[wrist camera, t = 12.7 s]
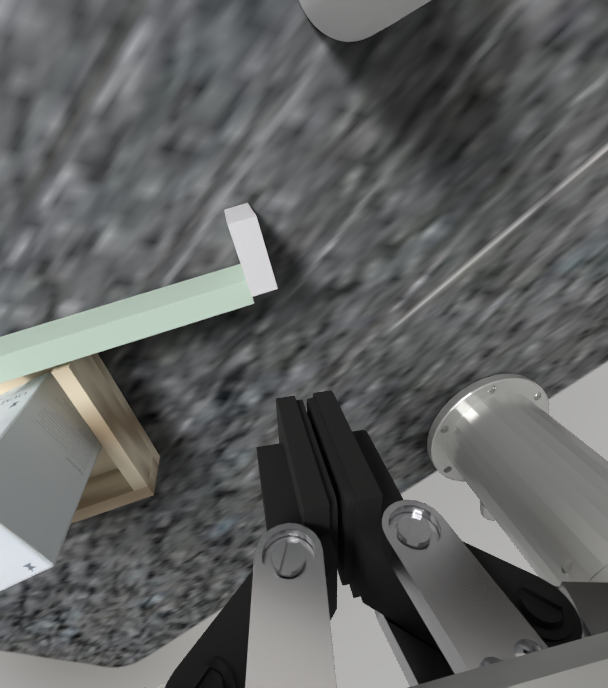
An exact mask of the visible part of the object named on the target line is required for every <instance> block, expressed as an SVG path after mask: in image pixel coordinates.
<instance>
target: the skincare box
mask: <svg viewBox="0 0 608 688" xmlns="http://www.w3.org/2000/svg"><path fill="white" fill-rule="evenodd" d="M101 448H102V444H101V443H100V442H99V440H98V439H97V437H96V436H95V434H94V433H93V432H92V430H91V429H90V427H89V426H88V424H87V423H86V421H85V420H84V419H83V417H82V416H81V414H80V413H79V411H78V410H77V409H76V407H75V406H74V404H73V403H72V401H71V400H70V399H69V397H68V396H67V394H66V393H65V391H64V390H63V389H62V387H61V386H60V384H59V383H58V381H57V380H56V379H55V377H54V376H53V374H52V373H51V372H48V373H45V374H43V375H41V376H39V377H37V378H35V379H33V380H31V381H28V382H26V383H24V384H22V385H20V386H18V387H16V388H14V389H12V390H10V391H7V392H5V393H3V394H1V395H0V591H2V590H4V589H6V588H8V587H10V586H13V585H15V584H17V583H19V582H21V581H23V580H25V579H27V578H30V577H32V576H34V575H36V574H38V573H40V572H42V571H45V570H47V569H49V568H51V567H53V566H54V565H55V563H56V561H57V558H58V556H59V553H60V551H61V548H62V545H63V543H64V540H65V538H66V535H67V532H68V530H69V527H70V525H71V522H72V520H73V517H74V514H75V512H76V509H77V507H78V504H79V501H80V499H81V496H82V494H83V491H84V489H85V486H86V484H87V481H88V479H89V476H90V474H91V472H92V469H93V467H94V464H95V462H96V460H97V458H98V455H99V453H100V450H101Z"/></svg>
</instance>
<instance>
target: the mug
mask: <svg viewBox="0 0 608 688" xmlns="http://www.w3.org/2000/svg"><path fill="white" fill-rule="evenodd" d="M430 1H431V0H299V2H300V5H301V7H302V9H303V10H304V12H305V14H306V15H307V17H308V18H309V20H310V21H311V22H312V23H313V25H314V26H315V27H316V28H317V29H319V30H320V31H321V32H322V33H324V34H325V35H327V36H329V37H331V38H333V39H335V40H339V41H344V42H355V41H360V40H363V39H366V38H368V37H370V36H372V35H374V34H376V33H377V32H379V31H381V30H383V29H385V28H387V27H388V26H390V25H392V24H394V23H395V22H397V21H398V20H400V19H402V18H403V17H405V16H406V15H408V14H410V13H411V12H413V11H415V10H416V9H418V8H420V7H421V6H423V5H425V4H426V3H428V2H430Z"/></svg>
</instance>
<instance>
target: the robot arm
mask: <svg viewBox="0 0 608 688" xmlns="http://www.w3.org/2000/svg"><path fill="white" fill-rule="evenodd" d="M276 408H277V420H278V432H279V444H274V445H268V446H262V447H257V456H258V465H259V473H260V481H261V489H262V497H263V505H264V512H265V520H266V528H267V532H266V533H265V534H264V535H263V536H262V537H261V539H260V540H259V542H258V544H257V546H256V550H255V554H254V566H253V571H252V572H251V573H250V575H249V576H248V577H247V578H246V580H245V581H244V582H243V584H242V585H241V586H240V587H239V589H238V590H237V591H236V593H235V594H234V595H233V596H232V598H231V599H230V600H229V601H228V603H227V604H226V605H225V607H224V608H223V609H222V610H221V612H220V613H219V614H218V616H217V617H216V618H215V619H214V621H213V622H212V623H211V625H210V626H209V627H208V628H207V630H206V631H205V632H204V633H203V635H202V636H201V638H200V639H199V640H198V641H197V642H196V644H195V645H194V646H193V648H192V649H191V650H190V651H189V653H188V654H187V655H186V657H185V658H184V659H183V660H182V662H181V663H180V664H179V666H178V667H177V668H176V669H175V671H174V672H173V674H172V676H171V677H170V679H169V680H168V681H167V682H165V683H164V684H162V685H160V686H158V687H156V688H337V684H336V675H335V665H334V655H333V647H332V646H333V645H332V635H331V626H330V620H331V618H332V617H333V615H334V613H335V611H336V609H337V569H338V573H339V576H340V580H341V582H342V585H347V584H350V588H351V591H352V594H353V597H354V598H356V597H359V596H361V598H362V601H363V603H365V604H367V605H368V606H370V607H371V608H373V609H374V610H375V614H376V617H377V619H378V622H379V624H380V626H381V628H382V630H383V632H384V634H385V636H386V638H387V640H388V642H389V644H390V646H391V648H392V650H393V653H394V655H395V656H396V659H397V661H398V663H399V664H400V667H401V669H402V671H403V673H404V675H405V677H406V679H407V681H408V683H409V685H410V687H409V688H608V461H606V460H605V459H604V458H603V457H602V456H600V455H599V454H598V453H596V452H595V451H594V450H593V449H591V448H590V447H589V446H587V445H586V444H585V443H584V442H583V441H581V440H580V439H579V438H577V437H576V436H575V435H574V434H572V433H571V432H570V431H569V430H567V429H566V428H565V427H563V426H562V425H561V424H560V423H558V422H557V421H556V420H555V419H553V418H552V417H551V416H550V415H549V401H548V398H547V395H546V393H545V392H544V390H543V389H542V388H541V387H540V386H539V385H538V384H536V383H535V382H534V381H532V380H530V379H529V378H527V377H525V376H522V375H518V374H507V373H506V374H499V375H493V376H490V377H487V378H483V379H481V380H479V381H477V382H475V383H472V384H470V385H469V386H467V387H466V388H464V389H463V390H461V391H460V392H458V393H457V394H456V395H455V396H454V397H453V398H451V399H450V400H449V401H448V402H447V403H446V405H445V406H444V407H443V408H442V409H441V410H440V412H439V413H438V415H437V416H436V418H435V419H434V421H433V424H432V426H431V428H430V430H429V435H428V439H427V451H428V455H429V458H430V460H431V462H432V463H433V465H434V466H435V467H436V469H437V470H438V471H439V472H440V473H441V474H442V475H444V476H445V477H447V478H450V479H452V480H458V481H466V482H467V484H468V485H469V486H470V487H471V489H472V490H473V491H474V493H475V494H476V495H477V497H478V498H479V499H480V503H481V504H480V510H481V514H482V515H483V517H484V518H486V519H488V520H492V521H494V520H496V521H497V523H498V524H499V525H500V527H501V528H502V529H503V530H504V532H505V533H506V534H507V536H508V537H509V538H510V540H511V541H512V542H513V543H514V545H515V546H516V547H517V549H518V550H519V551H520V552H521V554H522V555H523V556H524V558H525V559H526V560H527V562H528V563H529V564H530V566H531V567H532V568H533V569H534V571H535V572H536V573H537V575H538V576H539V577H538V576H535V575H533V574H531V573H529V572H527V571H525V570H522V569H520V568H518V567H516V566H514V565H512V564H509V563H508V562H505V561H503V560H501V559H499V558H497V557H495V556H493V555H491V554H488V553H486V552H484V551H482V550H480V549H477V548H476V547H473V546H471V545H469V544H467V543H465V542H463V541H462V540H461V539H460V538H459V537H458V536H457V534H456V533H455V532H454V531H453V529H452V528H451V527H450V526H449V524H448V523H447V522H446V521H445V520H444V518H443V517H442V516H441V515H440V514H439V513H438V512H437V511H436V510H435V509H434V508H432V507H430V506H428V505H427V504H425V503H422V502H418V501H414V500H403V498H402V496H401V494H400V492H399V491H398V489H397V487H396V485H395V483H394V481H393V479H392V478H391V476H390V474H389V472H388V470H387V468H386V466H385V465H384V463H383V461H382V459H381V457H380V455H379V453H378V452H377V450H376V448H375V446H374V444H373V442H372V440H371V438H370V437H369V435H368V433H367V432H366V431H365V430H360V431H354V432H352V431H351V429H350V427H349V424H348V422H347V420H346V418H345V416H344V414H343V412H342V410H341V408H340V406H339V404H338V402H337V400H336V398H335V396H334V393H333V392H332V391H324V392H317V393H313V398H310V399H307V412H306V409H305V406H304V403H303V400H296V398H295V396H290V397H283V398H276Z"/></svg>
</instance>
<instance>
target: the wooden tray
mask: <svg viewBox="0 0 608 688" xmlns="http://www.w3.org/2000/svg"><path fill="white" fill-rule="evenodd" d="M48 372H51V373H52V374H53V376H54V377H55V379H56V380H57V381H58V383H59V384H60V386H61V387H62V389H63V390H64V391H65V393H66V394H67V396H68V397H69V399H70V400H71V401H72V403H73V404H74V406H75V407H76V409H77V410H78V411H79V413H80V414H81V416H82V417H83V419H84V420H85V421H86V423H87V424H88V426H89V427H90V429H91V430H92V432H93V433H94V434H95V436H96V437H97V439H98V440H99V442H100V443H101V444H102V448H101V450H100V453H99V455H98V458H97V460H96V462H95V464H94V467H93V469H92V472H91V474H90V476H89V479H88V481H87V484H86V486H85V489H84V491H83V494H82V496H81V499H80V501H79V504H78V507H77V509H76V512H75V514H74V517H73V520H72V522H71V524H72V523H75V522H78V521H80V520H83V519H86V518H89V517H92V516H95V515H98V514H101V513H104V512H106V511H109V510H112V509H115V508H118V507H121V506H124V505H127V504H130V503H132V502H135V501H138V500H141V499H144V498H147V497H150V496H153V495H154V490H155V484H156V478H157V472H158V465H159V459H160V456H159V454H158V452H157V451H156V449H155V447H154V446H153V444H152V442H151V441H150V439H149V437H148V436H147V434H146V432H145V431H144V429H143V427H142V426H141V424H140V423H139V421H138V419H137V418H136V416H135V414H134V413H133V411H132V409H131V408H130V406H129V404H128V403H127V401H126V399H125V398H124V396H123V394H122V393H121V391H120V389H119V388H118V386H117V384H116V383H115V381H114V380H113V378H112V376H111V375H110V373H109V371H108V370H107V368H106V366H105V365H104V363H103V361H102V360H101V358H100V356H99V355H98V353H95V354H92V355H89V356H85V357H82V358H79V359H76V360H73V361H70V362H66V363H63V364H60V365H57V366H54V367H50V368H47V369H44V370H41V371H38V372H34V373H31V374H28V375H25V376H22V377H18V378H15V379H12V380H9V381H6V382H3V383H0V395H1V394H3V393H5V392H7V391H10V390H12V389H14V388H16V387H18V386H20V385H22V384H24V383H26V382H28V381H31V380H33V379H35V378H37V377H39V376H41V375H43V374H45V373H48Z"/></svg>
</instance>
